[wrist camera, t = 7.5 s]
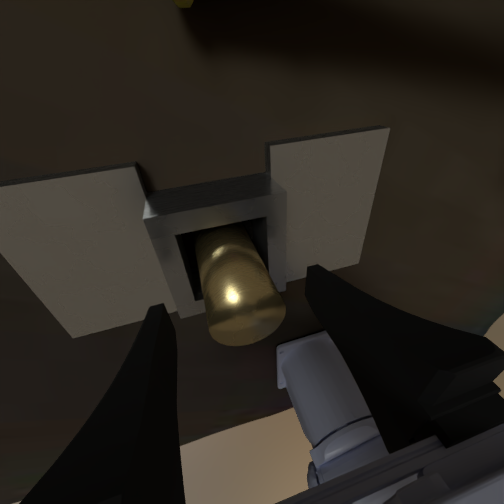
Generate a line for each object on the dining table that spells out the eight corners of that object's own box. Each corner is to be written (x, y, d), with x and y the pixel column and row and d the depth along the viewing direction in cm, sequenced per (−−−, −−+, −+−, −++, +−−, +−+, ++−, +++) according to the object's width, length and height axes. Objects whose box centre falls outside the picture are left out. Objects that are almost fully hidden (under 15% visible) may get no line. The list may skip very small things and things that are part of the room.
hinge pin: (247, 246, 19) (288, 330, 12) (201, 260, 18) (219, 355, 12) (238, 203, 17) (282, 279, 10) (185, 218, 16) (198, 307, 10)
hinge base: (351, 257, 23) (377, 281, 20) (76, 327, 18) (61, 370, 16) (379, 125, 16) (423, 134, 13) (-35, 187, 12) (-95, 218, 9)
